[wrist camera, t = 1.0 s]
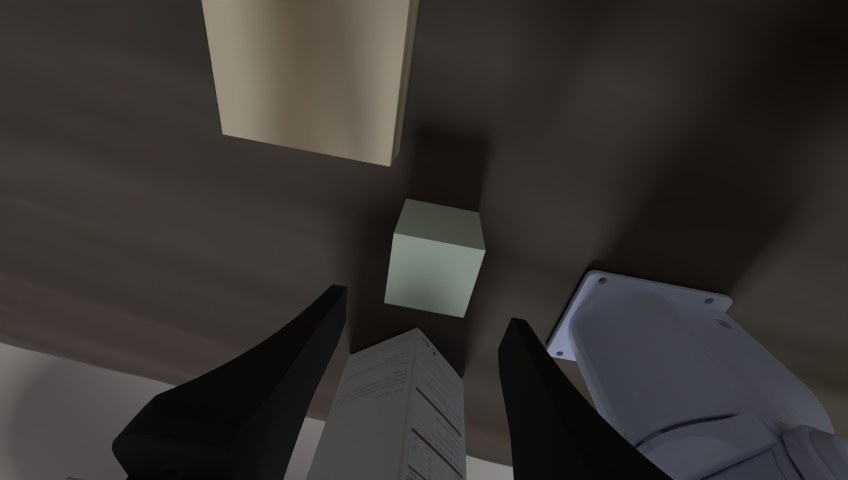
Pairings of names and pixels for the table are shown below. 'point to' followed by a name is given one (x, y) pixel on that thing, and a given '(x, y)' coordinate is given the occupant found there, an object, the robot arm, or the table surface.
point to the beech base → (314, 72)
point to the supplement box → (395, 416)
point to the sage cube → (434, 258)
